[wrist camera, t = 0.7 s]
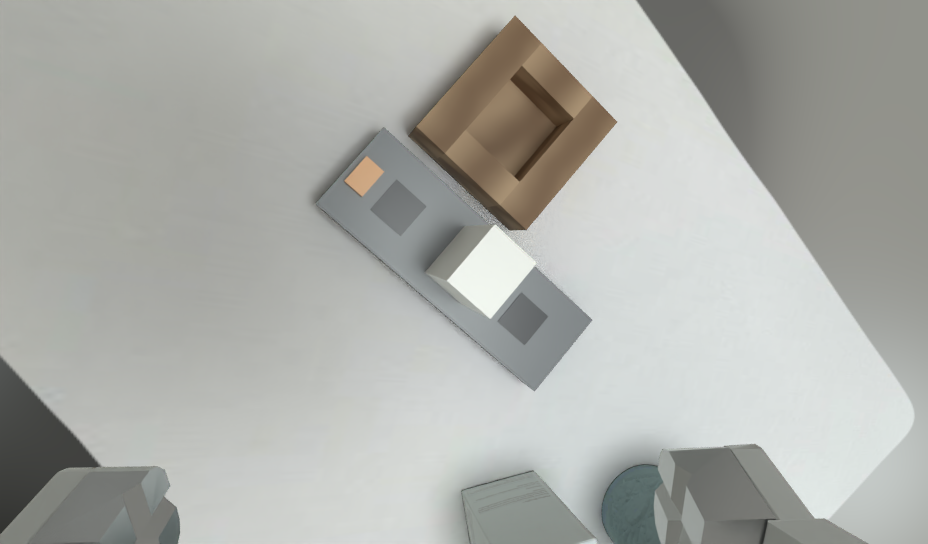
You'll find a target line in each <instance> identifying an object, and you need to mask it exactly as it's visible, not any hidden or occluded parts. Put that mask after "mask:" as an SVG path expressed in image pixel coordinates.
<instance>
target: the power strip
mask: <svg viewBox="0 0 928 544" xmlns="http://www.w3.org/2000/svg"><path fill="white" fill-rule="evenodd" d="M316 205H317V206H318V207H319V208H321V209H322V210H323V211H324V212H325V213H326V214H327V215H329V216H330V217H331V218H332V219H333V220H334V221H336V222H337V223H338V224H339V225H340V226H341V227H343V228H344V229H345V230H346V231H347V232H348V233H350V234H351V235H352V236H353V237H354V238H355V239H357V240H358V241H359V242H360V243H361V244H362V245H364V246H365V247H366V248H367V249H368V250H369V251H371V252H372V253H373V254H374V255H375V256H376V257H378V258H379V259H380V260H381V261H382V262H383V263H385V264H386V265H387V266H388V267H389V268H390V269H391V270H393V271H394V272H395V273H396V274H397V275H398V276H400V277H401V278H402V279H403V280H404V281H405V282H407V283H408V284H409V285H410V286H411V287H412V288H414V289H415V290H416V291H417V292H418V293H419V294H421V295H422V296H423V297H424V298H425V299H426V300H428V301H429V302H430V303H431V304H432V305H433V306H435V307H436V308H437V309H438V310H439V311H440V312H442V313H443V314H444V315H445V316H446V317H447V318H449V319H450V320H451V321H452V322H453V323H454V324H456V325H457V326H458V327H459V328H460V329H461V330H462V331H464V332H465V333H466V334H467V335H468V336H469V337H471V338H472V339H473V340H474V341H475V342H476V343H478V344H479V345H480V346H481V347H482V348H483V349H485V350H486V351H487V352H488V353H489V354H490V355H492V356H493V357H494V358H495V359H496V360H497V361H499V362H500V363H501V364H502V365H503V366H504V367H506V368H507V369H508V370H509V371H510V372H511V373H513V374H514V375H515V376H516V377H517V378H518V379H520V380H521V381H522V382H523V383H524V384H526V385H527V386H528V387H530V388H531V389H532V390H534V391H535V390H536V389H537V388H538V387H539V385H540V384H541V383H542V382H543V380H544V379H545V378H546V377H547V375H548V374H549V373H550V372H551V371H552V369H553V368H554V367H555V366H556V364H557V363H558V362H559V361H560V359H561V358H562V357H563V356H564V355H565V353H566V352H567V351H568V350H569V348H570V347H571V346H572V345H573V343H574V342H575V341H576V340H577V338H578V337H579V336H580V335H581V334H582V332H583V331H584V330H585V329H586V327H587V326H588V325H589V324H590V322H591V321H592V319H591V318H590V317H589V316H588V315H587V314H585V313H584V312H583V311H582V310H581V309H580V308H579V307H578V306H577V305H576V304H575V303H574V302H572V301H571V300H570V299H569V298H568V297H567V296H566V295H565V294H564V293H563V292H562V291H561V290H560V289H558V288H557V287H556V286H555V285H554V284H553V283H552V282H551V281H550V280H549V279H548V278H547V277H545V276H544V275H543V274H542V273H541V272H540V271H539V270H538V269H537V268H536V267H535V266H534V267H533V269H532V270H531V271H530V272H529V273H528V275H527V276H526V277H525V278H524V279H523V281H522V282H521V283H520V284H519V285H518V287H517V288H516V289H515V290H514V291H513V293H512V294H511V295H510V296H509V297H508V299H507V300H506V301H505V302H504V303H503V305H502V306H501V307H500V308H499V309H498V311H497V312H496V313H495V314H494V315H493V317H492V318H491V319H489V318H488V317H486V316H484V315H482V314H480V313H478V312H476V311H474V310H472V309H470V308H468V307H466V306H464V305H462V304H460V303H459V302H458V301H457V300H456V299H455V298H454V297H452V296H451V295H450V294H449V293H448V292H447V291H446V290H444V289H443V288H442V287H441V286H440V285H439V284H438V283H436V282H435V281H434V280H433V279H432V278H431V277H430V276H428V275H427V274H426V273H425V272H426V270H427V269H428V268H429V267H430V266H431V265H432V263H433V262H434V261H435V260H436V259H437V258H438V256H439V255H440V254H441V253H442V252H443V251H444V249H445V248H446V247H447V246H448V245H449V244H450V242H451V241H452V240H453V239H454V238H455V237H456V235H457V234H458V233H459V232H460V231H461V230H462V228H463V227H464V226H475V225H489V224H488V223H487V222H486V221H485V220H484V219H483V218H482V217H481V216H479V215H478V214H477V213H476V212H475V211H474V210H473V209H472V208H471V207H470V206H469V205H468V204H466V203H465V202H464V201H463V200H462V199H461V198H460V197H459V196H458V195H457V194H456V193H455V192H453V191H452V190H451V189H450V188H449V187H448V186H447V185H446V184H445V183H444V182H443V181H442V180H440V179H439V178H438V177H437V176H436V175H435V174H434V173H433V172H432V171H431V170H430V169H429V168H427V167H426V166H425V165H424V164H423V163H422V162H421V161H420V160H419V159H418V158H417V157H416V156H414V155H413V154H412V153H411V152H410V151H409V150H408V149H407V148H406V147H405V146H404V145H403V144H402V143H400V142H399V141H398V140H397V139H396V138H395V137H394V136H393V135H392V134H391V133H390V132H389V131H387V130H386V129H385V128H383V129H382V130H381V131H380V132H379V133H378V134H377V136H376V137H375V138H374V139H373V140H372V141H371V142H370V143H369V144H368V146H367V147H366V148H365V149H364V150H363V151H362V152H361V153H360V154H359V156H358V157H357V158H356V159H355V160H354V161H353V162H352V163H351V164H350V166H349V167H348V168H347V169H346V170H345V171H344V172H343V173H342V174H341V176H340V177H339V178H338V179H337V180H336V181H335V182H334V183H333V185H332V186H331V187H330V188H329V189H328V190H327V191H326V192H325V193H324V195H323V196H322V197H321V198H320V199H319V200H318V201H317V202H316Z"/></svg>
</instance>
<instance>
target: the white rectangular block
mask: <svg viewBox="0 0 928 544" xmlns="http://www.w3.org/2000/svg"><path fill="white" fill-rule="evenodd" d="M536 264H537V263H536V262H535V261H534V260H533V259H532V258H531V257H530V256H529V255H528V254H527V253H526V252H525V251H523V250H522V249H521V248H520V247H519V246H518V245H517V244H516V243H515V242H514V241H513V240H512V239H511V238H509V237H508V236H507V235H506V234H505V233H504V232H503V231H502V230H501V229H500V228H499V227H498V226H497V225H495V224H491V225H475V226H464V227H463V228H462V230H461V231H460V232H459V233H458V234H457V235H456V237H455V238H454V239H453V240H452V241H451V242H450V244H449V245H448V246H447V247H446V248H445V249H444V251H443V252H442V253H441V254H440V255H439V256H438V258H437V259H436V260H435V261H434V262H433V263H432V265H431V266H430V267H429V268H428V269H427V270H426V272H425V273H426V274H427V275H428V276H430V277H431V278H432V279H433V280H434V281H435V282H436V283H438V284H439V285H440V286H441V287H442V288H443V289H444V290H446V291H447V292H448V293H449V294H450V295H451V296H452V297H454V298H455V299H456V300H457V301H458V302H459V303H460V304H462V305H464V306H466V307H468V308H470V309H472V310H474V311H476V312H478V313H480V314H482V315H484V316H486V317H488V318H489V319H491V318H492V317H493V315H494V314H495V313H496V312H497V311H498V309H499V308H500V307H501V306H502V305H503V303H504V302H505V301H506V300H507V299H508V297H509V296H510V295H511V294H512V293H513V291H514V290H515V289H516V288H517V287H518V285H519V284H520V283H521V282H522V281H523V279H524V278H525V277H526V276H527V275H528V273H529V272H530V271H531V270H532V269H533V267H534V266H535V265H536Z"/></svg>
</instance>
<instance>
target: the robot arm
mask: <svg viewBox="0 0 928 544" xmlns="http://www.w3.org/2000/svg"><path fill="white" fill-rule="evenodd" d="M658 471H659V473H660V475H661V478H662V480H663V483H662V484H661V485H660V486H659V487H658V488H657V489H656V490H655V498H654V515H655V525H656V529H657V532H658V536H659V540H660V542H661V544H868V543H866V542H864V541H862V540H861V539H859V538H857V537H856V536H854V535H852V534H851V533H849V532H847V531H845V530H844V529H842V528H840V527H838V526H837V525H835V524H833V523H832V522H830V521H828V520H826V519H815V518H814V517H813V516H812V514H811V513H810V512H809V510H808V509H807V508H806V506H805V505H804V504H803V502H802V501H801V500H800V498H799V497H798V496H797V494H796V493H795V492H794V490H793V489H792V488H791V486H790V485H789V484H788V482H787V481H786V480H785V478H784V477H783V476H782V474H781V473H780V472H779V470H778V469H777V468H776V466H775V465H774V464H773V462H772V461H771V460H770V458H769V457H768V456H767V454H766V453H765V452H764V450H763V449H762V448H761V447H759V446H758V445H756V444H747V445H729V446H724V447H702V448H677V449H662V451H661V453H660V456H659V462H658ZM169 487H170V483H169V481H168V478H167V475H166V472H165V470H164V469H162V468H160V467H158V466H141V467H97V468H67V469H65V470H62V471H60V472H58V473H56V475H55V476H54V477H53V478H52V479H51V480H50V481H49V482H48V483H47V484H46V485H45V487H44V488H43V489H42V490H41V491H40V492H39V493H38V494H37V495H36V496H35V497H34V498H33V500H32V501H31V502H30V503H29V504H28V505H27V506H26V507H25V508H24V509H23V510H22V512H21V513H20V514H19V515H18V516H17V517H16V518H15V519H14V521H12V522H11V524H10V525H9V526H8V527H7V528H6V529H5V530H4V531H3V532H2V533H1V534H0V544H178V539H179V535H180V521H179V515H178V512H177V508H176V506H174V505H173V504H172V503H171V502H170V501H168V500H167V499H166V498H165V497H164V495H165V494H166V492H167V490H168V489H169Z"/></svg>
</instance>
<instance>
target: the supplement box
mask: <svg viewBox="0 0 928 544" xmlns="http://www.w3.org/2000/svg"><path fill="white" fill-rule="evenodd" d="M462 497H463V503H464V508H465V514H466V520H467V526H468V532H469V538H470V544H598V542H597V539H596V537H595V536H594V535H593V534H592V533H591V532H589V530H588V529H587V528H586V527H585V526H584V525H583V524H582V523H581V522H580V521H579V520H578V519H577V517H576V516H575V515H574V514H573V513H572V512H571V511H570V510H569V509H568V507H567V506H566V505H565V504H564V503H563V502H562V501H561V500H560V499H559V498H558V496H557V495H556V494H555V493H554V492H553V491H552V490H551V489H550V488H549V487H548V485H547V484H546V483H545V482H544V481H543V480H542V479H541V478H540V477H539V476H538V475H537V474H536V473H535V472H534V471H532V472H528V473H524V474H521V475H517V476H513V477H510V478H506V479H503V480H499V481H495V482H492V483H488V484H485V485H481V486H477V487H474V488H470V489H466V490H463V491H462Z"/></svg>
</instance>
